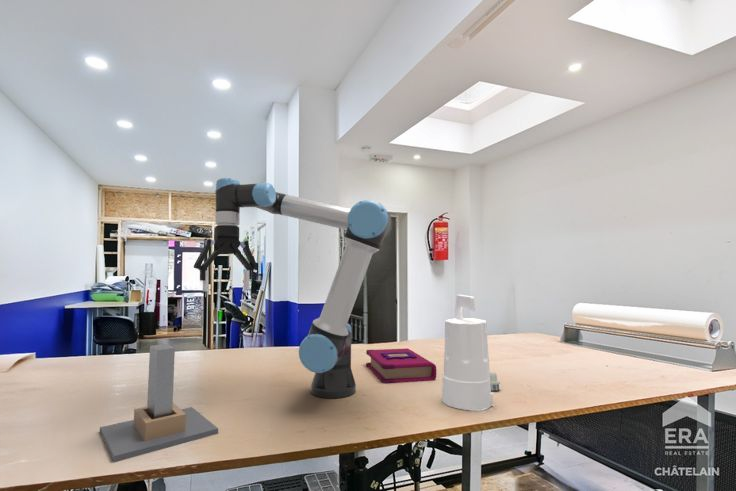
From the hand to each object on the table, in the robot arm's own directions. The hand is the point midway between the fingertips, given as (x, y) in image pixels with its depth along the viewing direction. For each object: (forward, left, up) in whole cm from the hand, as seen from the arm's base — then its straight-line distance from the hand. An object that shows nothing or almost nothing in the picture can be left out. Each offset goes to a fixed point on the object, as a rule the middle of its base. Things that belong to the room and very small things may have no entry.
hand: (226, 290), depth 125 cm
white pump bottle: (-75, +18, -34) cm, 85 cm away
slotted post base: (+12, +25, -34) cm, 44 cm away
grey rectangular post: (+12, +25, -33) cm, 43 cm away
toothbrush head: (-89, -2, -35) cm, 96 cm away
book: (-64, -20, -35) cm, 76 cm away
